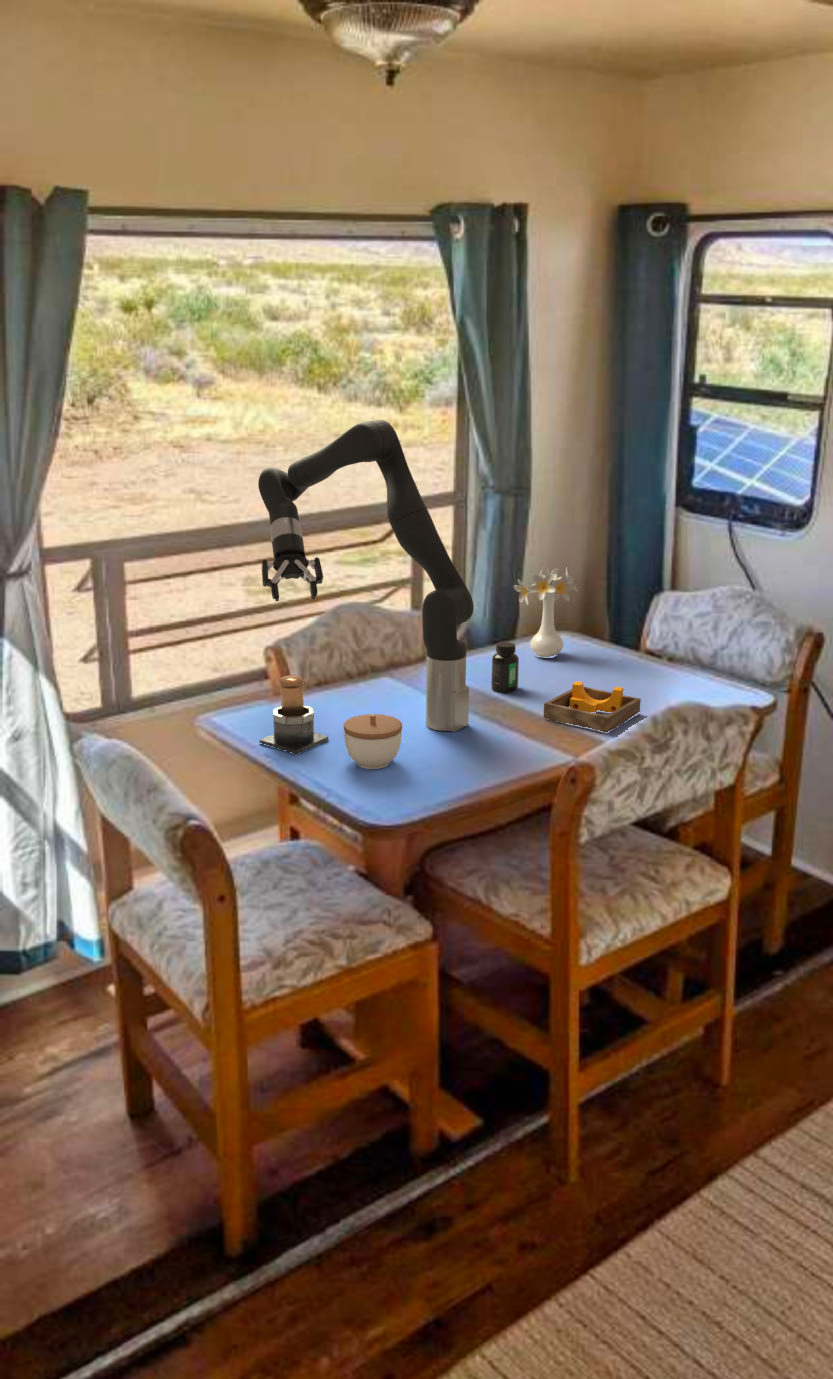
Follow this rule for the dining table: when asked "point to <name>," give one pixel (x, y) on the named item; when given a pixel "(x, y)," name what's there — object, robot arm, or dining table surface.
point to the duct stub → (294, 732)
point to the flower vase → (547, 608)
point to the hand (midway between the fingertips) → (295, 598)
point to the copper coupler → (292, 695)
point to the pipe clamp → (589, 704)
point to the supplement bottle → (505, 668)
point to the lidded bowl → (372, 739)
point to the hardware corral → (562, 713)
